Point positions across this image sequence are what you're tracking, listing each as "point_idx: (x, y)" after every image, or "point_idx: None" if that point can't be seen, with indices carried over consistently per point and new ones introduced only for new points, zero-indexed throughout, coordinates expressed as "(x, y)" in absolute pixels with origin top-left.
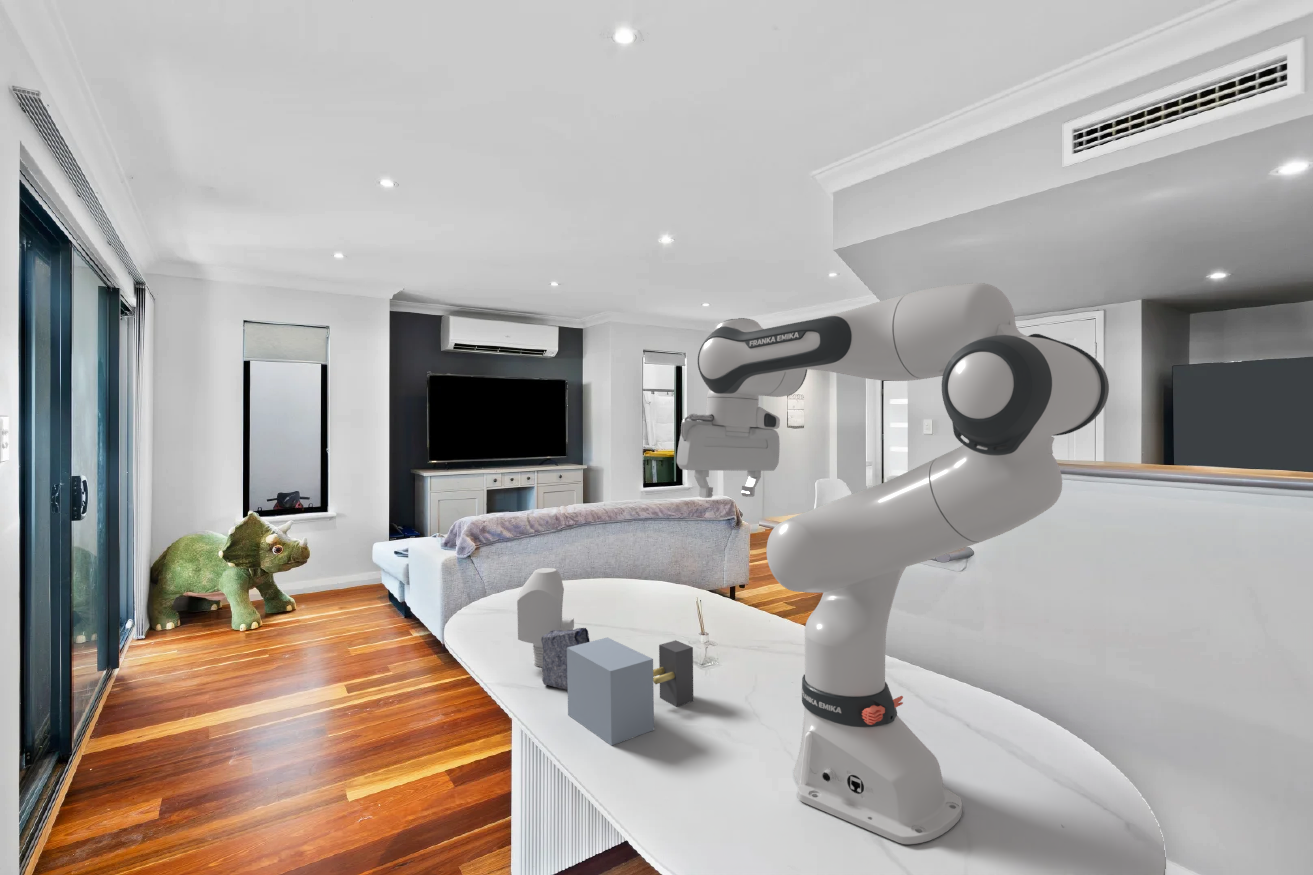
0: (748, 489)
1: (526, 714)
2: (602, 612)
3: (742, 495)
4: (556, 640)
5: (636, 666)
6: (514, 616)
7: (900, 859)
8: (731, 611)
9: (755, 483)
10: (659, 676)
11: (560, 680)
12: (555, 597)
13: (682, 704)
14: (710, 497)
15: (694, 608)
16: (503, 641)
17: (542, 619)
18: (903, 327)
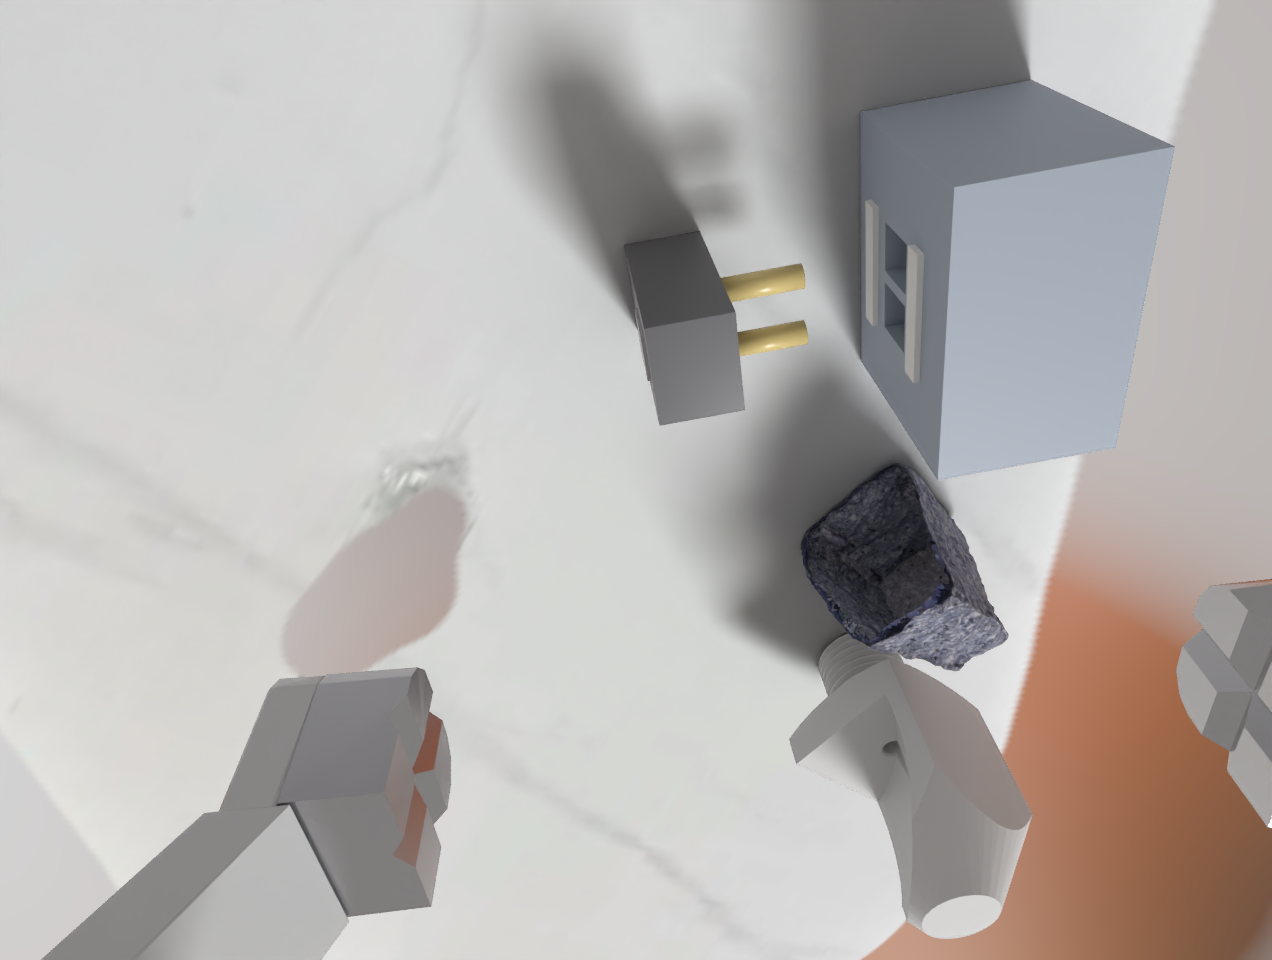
0: (393, 757)
1: None
2: (540, 892)
3: (447, 752)
4: (982, 603)
5: (1036, 167)
6: (769, 921)
7: None
8: (126, 805)
9: (191, 865)
10: (786, 281)
11: (938, 505)
12: (950, 784)
13: (673, 236)
14: (1228, 586)
15: None
16: None
17: (952, 734)
18: None
